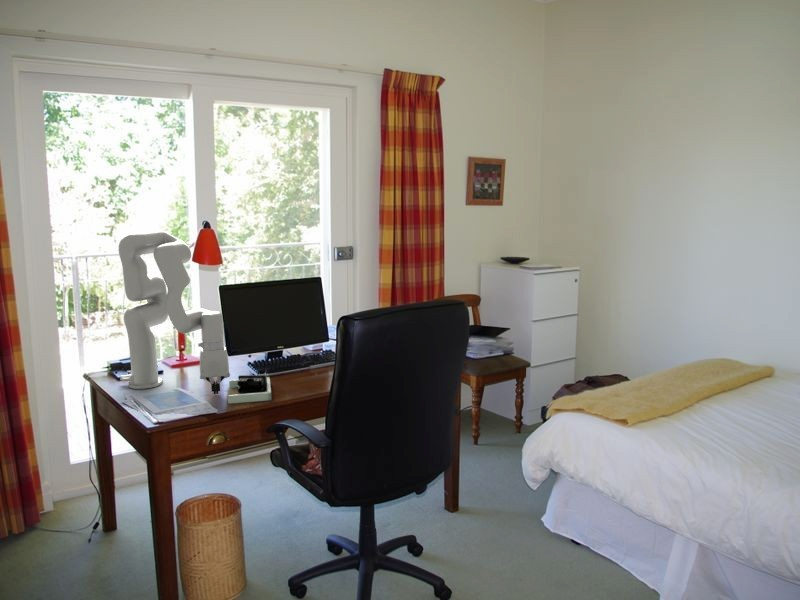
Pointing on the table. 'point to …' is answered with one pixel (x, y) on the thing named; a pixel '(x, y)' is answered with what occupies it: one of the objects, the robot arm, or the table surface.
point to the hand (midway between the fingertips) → (216, 393)
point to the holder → (249, 394)
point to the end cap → (252, 384)
